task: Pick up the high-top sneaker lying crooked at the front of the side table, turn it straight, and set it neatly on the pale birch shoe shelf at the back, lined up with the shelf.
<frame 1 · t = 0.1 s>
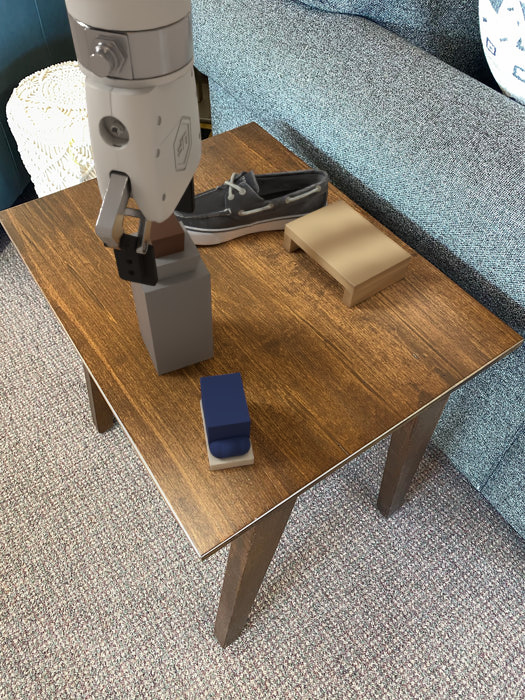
hand: (159, 242, 50), 20 cm above the table, tool pointing down, fingers open, 9 cm apart
perfume bottle: (176, 346, 68), on the table
boat shoe: (244, 224, 82), on the table
high-top sneaker: (226, 433, 60), on the table
shoe shelf: (342, 262, 78), on the table
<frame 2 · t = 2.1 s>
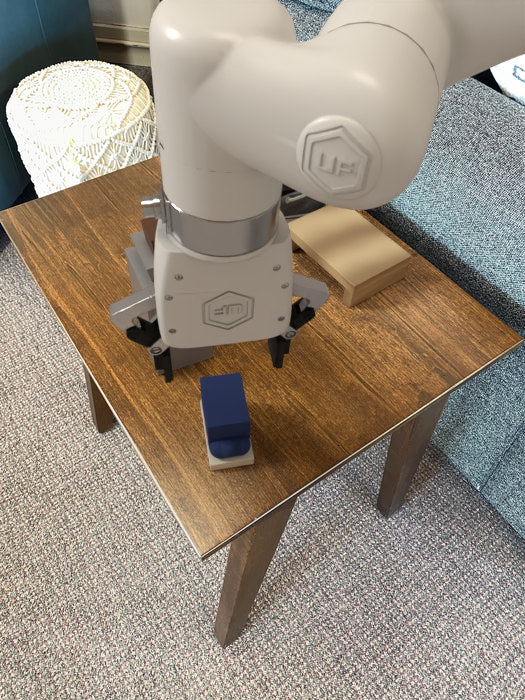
hand: (222, 362, 51), 12 cm above the table, tool pointing down, fingers open, 9 cm apart
nothing on the table moved.
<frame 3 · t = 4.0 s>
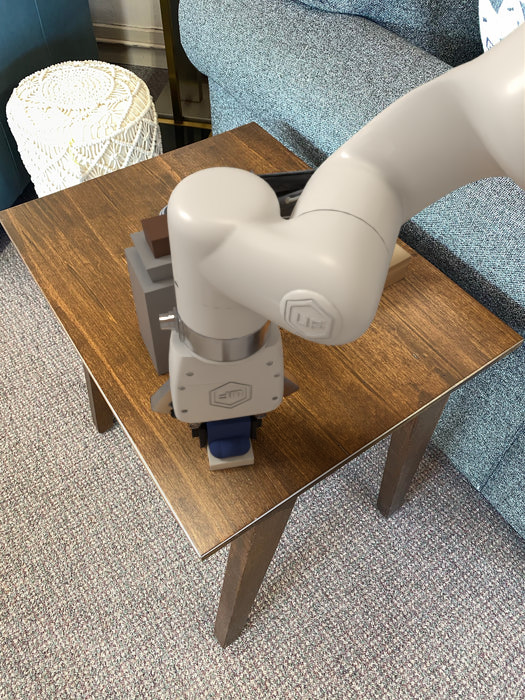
hand: (226, 431, 60), 1 cm above the table, tool pointing down, fingers closed on high-top sneaker, 4 cm apart
high-top sneaker: (226, 433, 60), on the table, touching gripper
everything else where it was.
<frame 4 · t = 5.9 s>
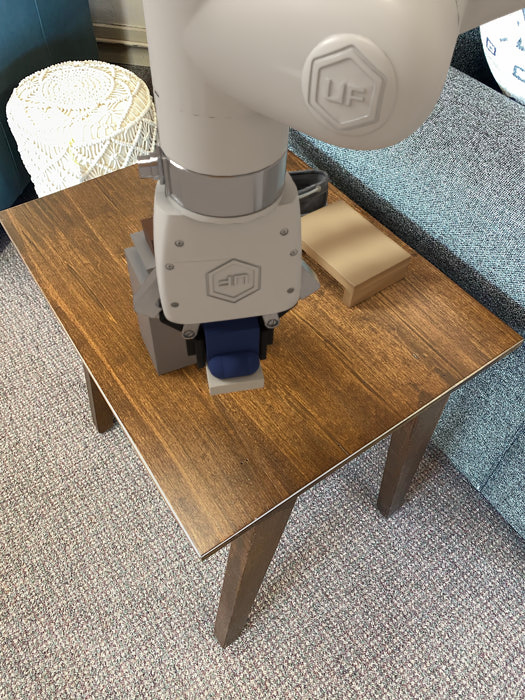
hand: (229, 350, 49), 15 cm above the table, tool pointing down, fingers closed on high-top sneaker, 4 cm apart
high-top sneaker: (229, 354, 49), point 14 cm above the table, touching gripper
everything else where it was.
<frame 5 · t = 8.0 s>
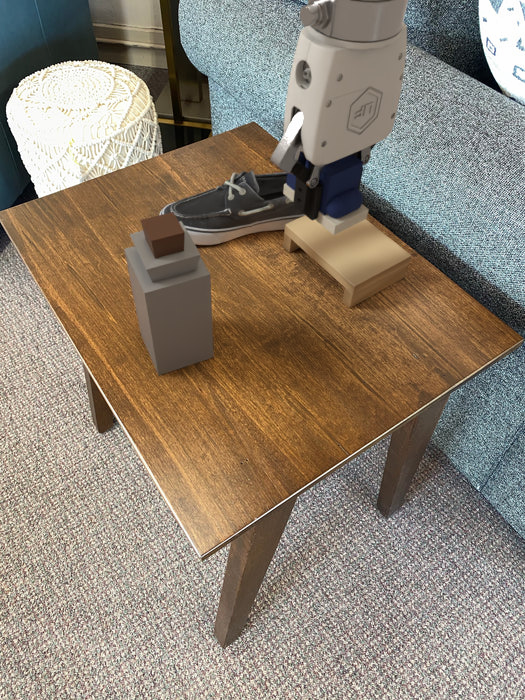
hand: (325, 201, 58), 17 cm above the table, tool pointing down, fingers closed on high-top sneaker, 4 cm apart
high-top sneaker: (324, 206, 58), point 17 cm above the table, touching gripper
everything else where it was.
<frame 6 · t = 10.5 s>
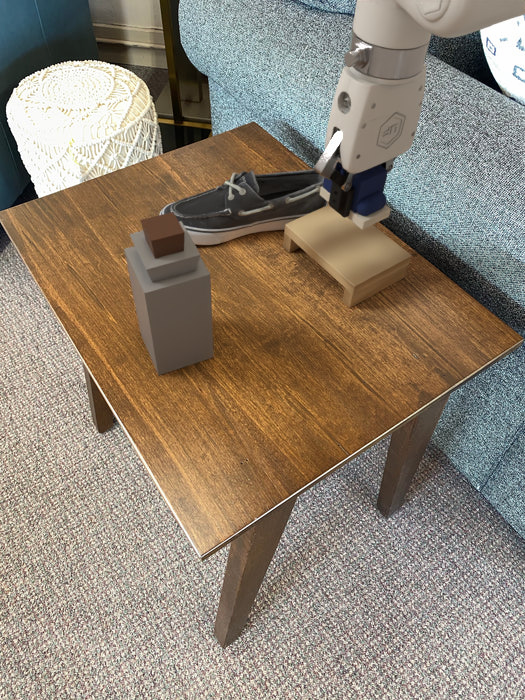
hand: (354, 202, 70), 10 cm above the table, tool pointing down, fingers closed on high-top sneaker, 4 cm apart
high-top sneaker: (353, 205, 70), point 9 cm above the table, touching gripper
everything else where it was.
when the fingers open (5 cm above the table, at t = 12.2 s): high-top sneaker stays where it is, resting on shoe shelf.
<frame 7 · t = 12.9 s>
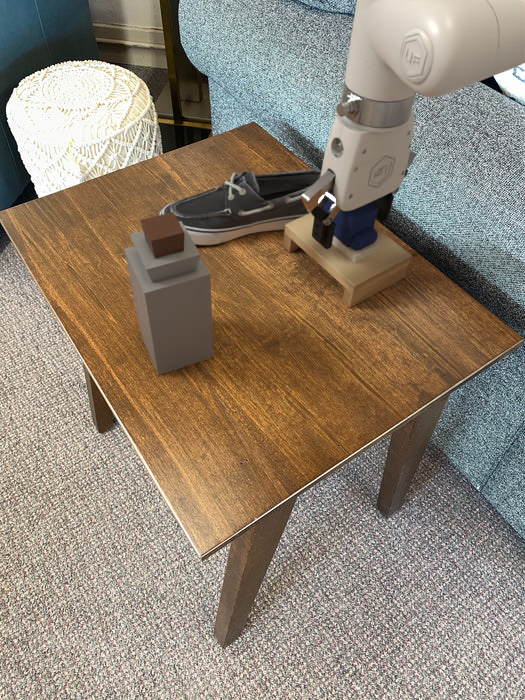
hand: (350, 228, 73), 6 cm above the table, tool pointing down, fingers open, 9 cm apart
high-top sneaker: (347, 239, 75), point 4 cm above the table, touching shoe shelf
everything else where it was.
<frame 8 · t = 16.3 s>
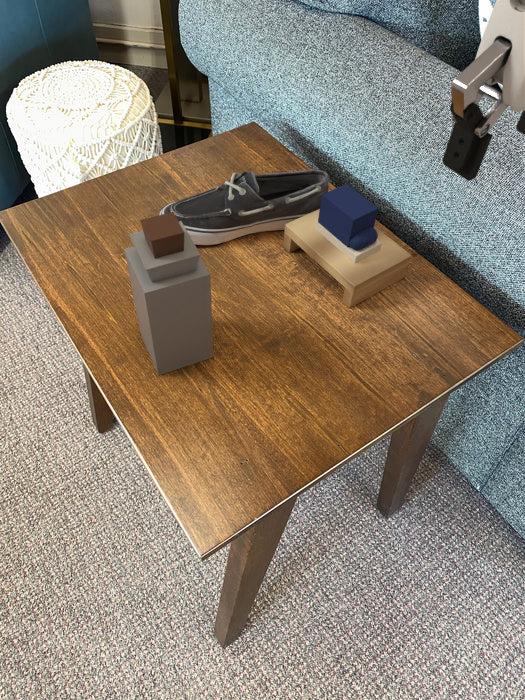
hand: (496, 153, 49), 26 cm above the table, tool pointing down, fingers open, 9 cm apart
nothing on the table moved.
at the end: high-top sneaker inside the target area on the shoe shelf (0.0 cm from its centre), point 4.0 cm above the shoe shelf's base; high-top sneaker tilted 0° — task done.
